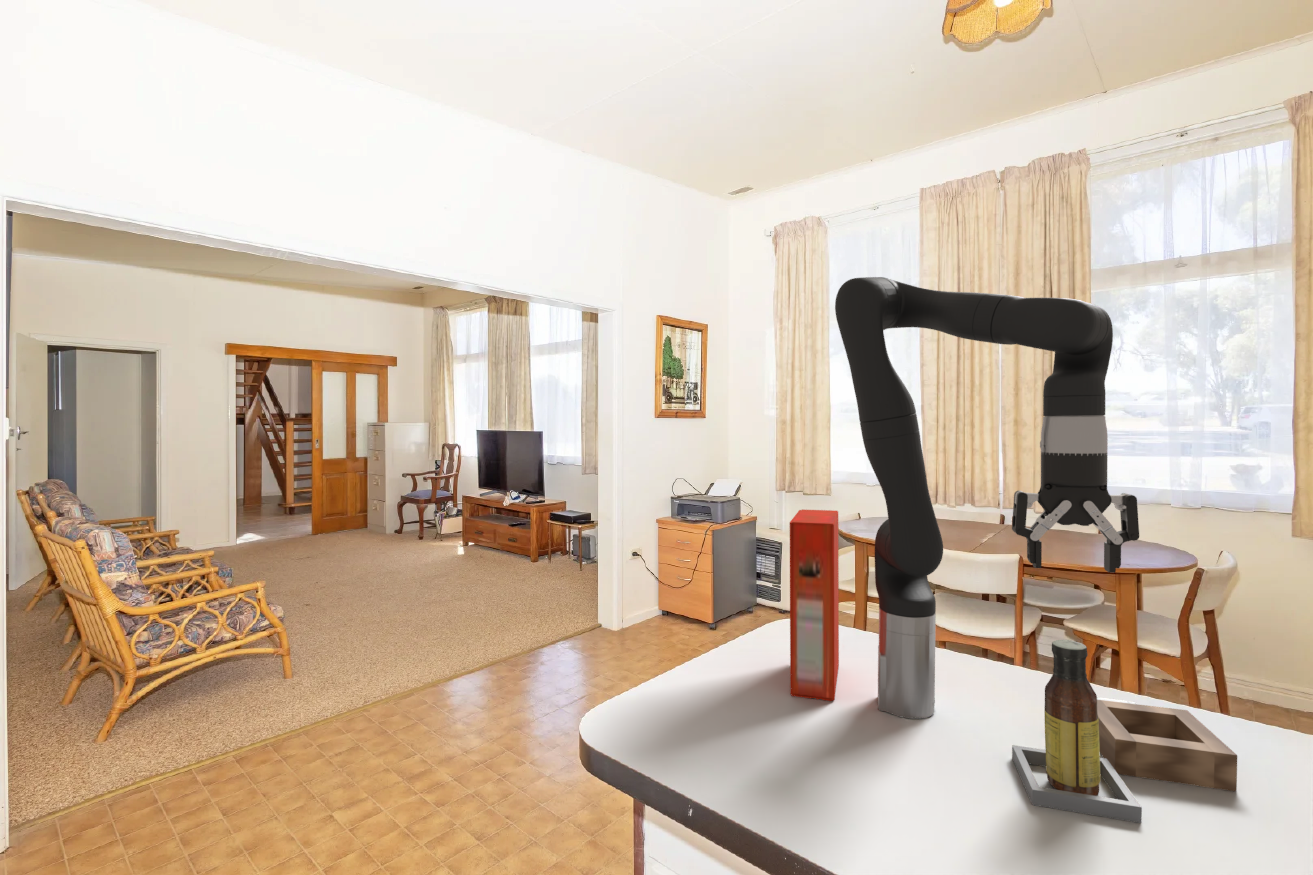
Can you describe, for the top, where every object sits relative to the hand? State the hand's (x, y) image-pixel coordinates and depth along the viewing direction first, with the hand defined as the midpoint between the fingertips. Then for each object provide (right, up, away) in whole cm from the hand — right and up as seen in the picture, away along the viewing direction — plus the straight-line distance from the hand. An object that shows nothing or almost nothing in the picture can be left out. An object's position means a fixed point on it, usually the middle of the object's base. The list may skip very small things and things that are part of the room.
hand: (1072, 569), depth 86 cm
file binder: (-26, -29, +37) cm, 54 cm away
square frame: (0, -30, +1) cm, 30 cm away
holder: (+18, -30, +9) cm, 36 cm away
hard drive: (+20, -30, +24) cm, 44 cm away
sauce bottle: (0, -30, +1) cm, 30 cm away
